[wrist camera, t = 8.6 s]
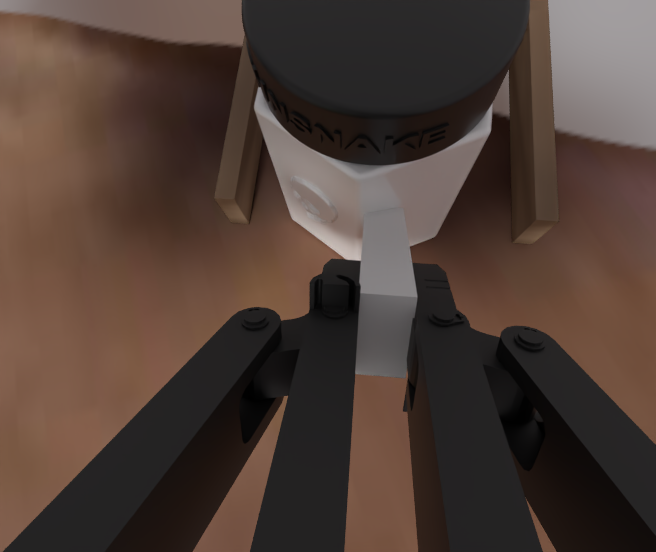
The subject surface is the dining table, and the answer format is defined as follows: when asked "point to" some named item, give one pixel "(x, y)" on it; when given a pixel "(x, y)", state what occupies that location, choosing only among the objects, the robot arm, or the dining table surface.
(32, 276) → the dining table surface
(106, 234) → the dining table surface
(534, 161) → the box
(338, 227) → the jar
